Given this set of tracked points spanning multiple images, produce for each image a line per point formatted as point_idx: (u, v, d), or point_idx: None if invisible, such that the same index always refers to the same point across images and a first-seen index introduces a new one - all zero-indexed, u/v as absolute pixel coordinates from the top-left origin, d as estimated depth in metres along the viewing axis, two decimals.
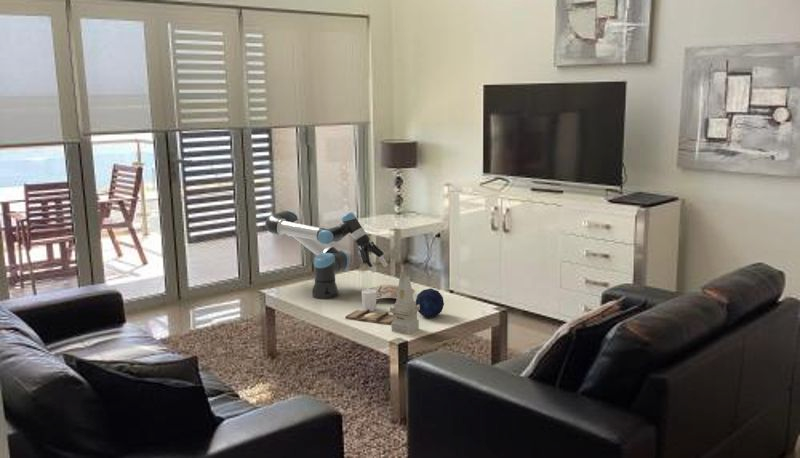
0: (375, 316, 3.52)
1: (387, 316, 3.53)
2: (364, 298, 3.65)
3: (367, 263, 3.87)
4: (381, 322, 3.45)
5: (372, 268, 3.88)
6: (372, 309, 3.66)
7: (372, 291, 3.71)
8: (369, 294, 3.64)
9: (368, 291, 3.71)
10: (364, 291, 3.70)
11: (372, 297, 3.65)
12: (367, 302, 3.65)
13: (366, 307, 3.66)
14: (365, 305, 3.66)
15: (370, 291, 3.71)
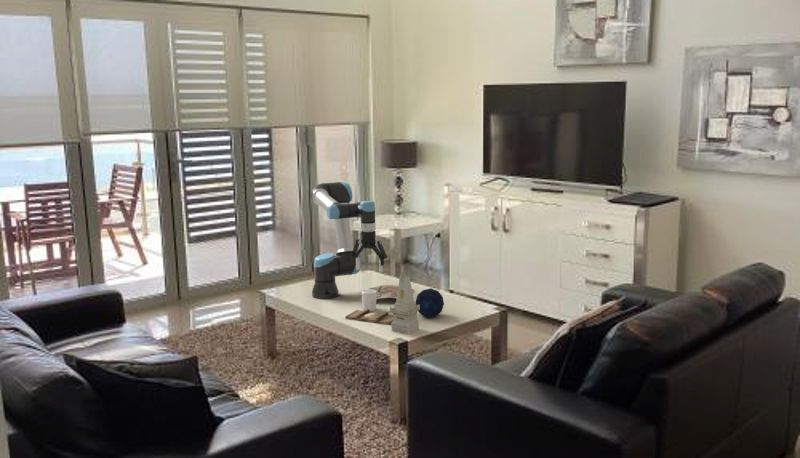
0: (375, 316, 3.52)
1: (387, 316, 3.53)
2: (364, 298, 3.65)
3: None
4: (381, 322, 3.45)
5: None
6: (372, 309, 3.66)
7: (372, 291, 3.71)
8: (369, 294, 3.64)
9: (368, 291, 3.71)
10: (364, 291, 3.70)
11: (372, 297, 3.65)
12: (367, 302, 3.65)
13: (366, 307, 3.66)
14: (365, 305, 3.66)
15: (370, 291, 3.71)
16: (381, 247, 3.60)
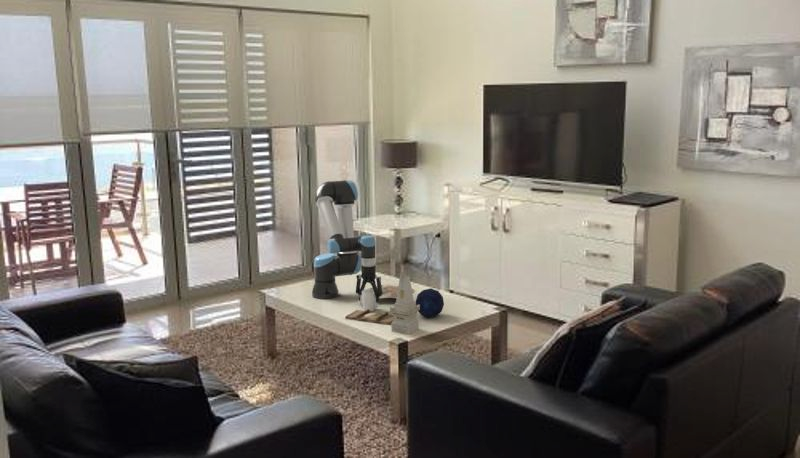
0: (375, 316, 3.52)
1: (387, 316, 3.53)
2: (364, 298, 3.65)
3: None
4: (381, 322, 3.45)
5: None
6: (372, 309, 3.66)
7: (372, 291, 3.71)
8: (369, 294, 3.64)
9: (368, 291, 3.71)
10: (364, 291, 3.70)
11: (372, 297, 3.65)
12: (367, 302, 3.65)
13: (366, 307, 3.66)
14: (365, 305, 3.66)
15: (370, 291, 3.71)
16: (379, 284, 3.63)
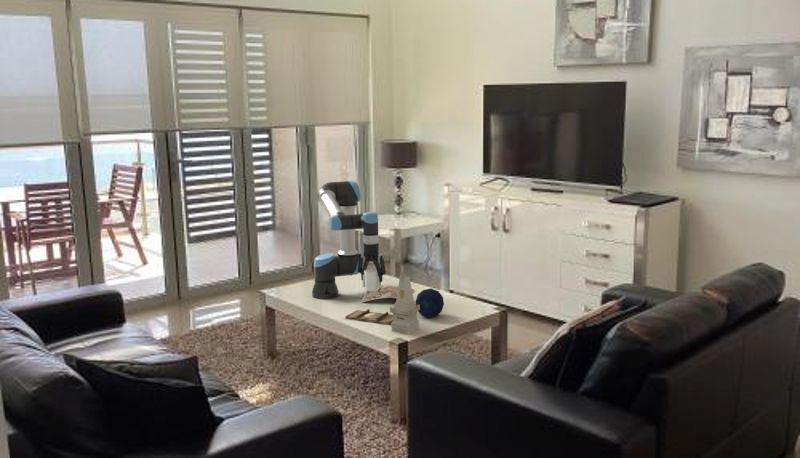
0: (375, 316, 3.52)
1: (387, 316, 3.53)
2: (367, 277, 3.49)
3: None
4: (381, 322, 3.45)
5: None
6: (375, 289, 3.50)
7: (375, 270, 3.55)
8: (372, 273, 3.48)
9: (371, 270, 3.55)
10: (366, 270, 3.54)
11: (375, 276, 3.49)
12: (370, 281, 3.49)
13: (369, 287, 3.50)
14: (368, 285, 3.50)
15: (373, 270, 3.55)
16: (382, 262, 3.47)
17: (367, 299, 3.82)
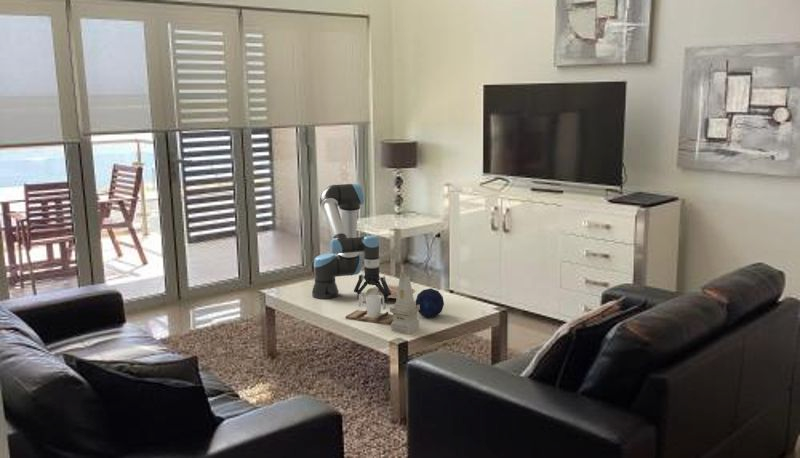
0: None
1: (387, 316, 3.53)
2: (368, 304, 3.49)
3: None
4: (381, 322, 3.45)
5: None
6: (377, 315, 3.51)
7: (376, 296, 3.55)
8: (373, 300, 3.48)
9: (372, 296, 3.55)
10: (368, 297, 3.54)
11: (376, 303, 3.49)
12: (371, 308, 3.49)
13: (370, 313, 3.50)
14: (369, 311, 3.50)
15: (374, 296, 3.55)
16: (385, 284, 3.47)
17: None
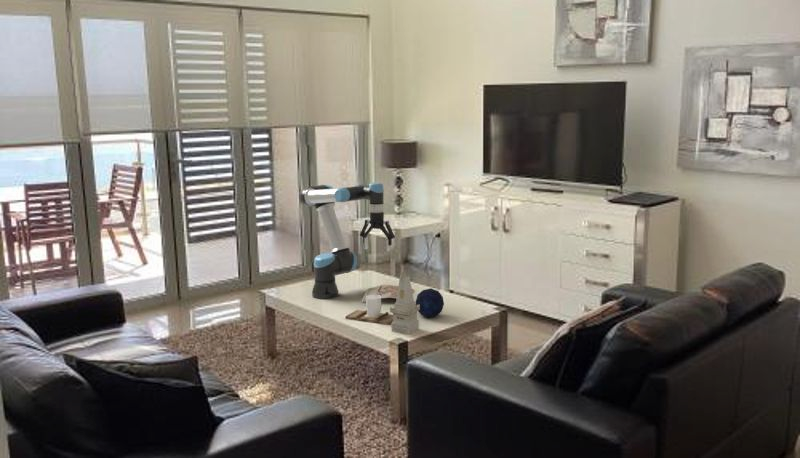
0: None
1: (387, 316, 3.53)
2: (368, 304, 3.49)
3: None
4: (381, 322, 3.45)
5: None
6: (377, 315, 3.51)
7: (377, 296, 3.55)
8: (373, 300, 3.48)
9: (372, 296, 3.55)
10: (368, 296, 3.54)
11: (377, 303, 3.49)
12: (371, 308, 3.49)
13: (370, 313, 3.50)
14: (369, 311, 3.50)
15: (374, 296, 3.55)
16: (389, 227, 3.74)
17: None
